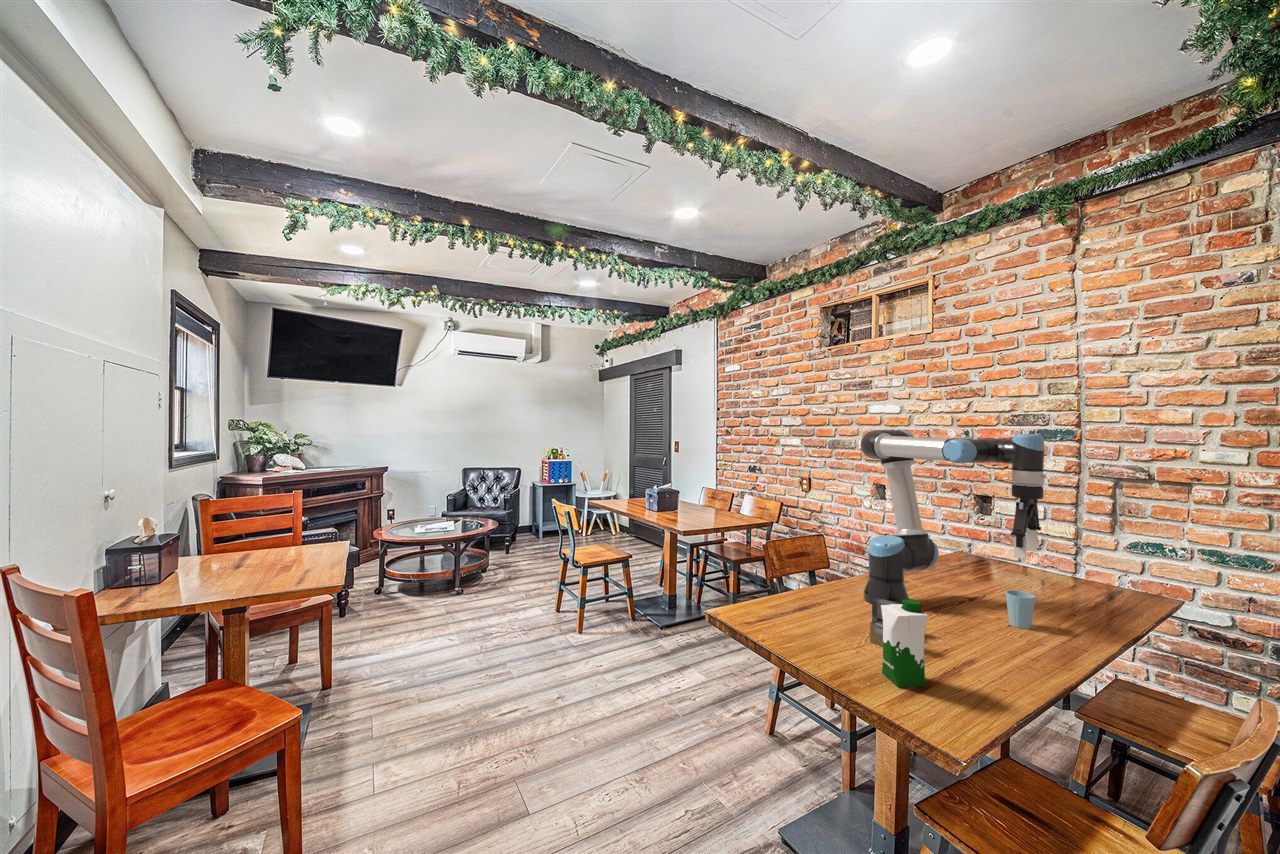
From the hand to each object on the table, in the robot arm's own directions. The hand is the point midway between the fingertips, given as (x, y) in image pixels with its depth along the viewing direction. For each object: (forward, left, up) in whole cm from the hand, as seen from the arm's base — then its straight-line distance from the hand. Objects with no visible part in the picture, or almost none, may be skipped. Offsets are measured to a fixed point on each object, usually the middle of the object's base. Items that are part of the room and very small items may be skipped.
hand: (1025, 554), depth 146 cm
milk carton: (-12, -54, -26) cm, 61 cm away
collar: (-24, -36, -26) cm, 51 cm away
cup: (-4, +12, -26) cm, 30 cm away
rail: (-24, -31, -26) cm, 47 cm away
